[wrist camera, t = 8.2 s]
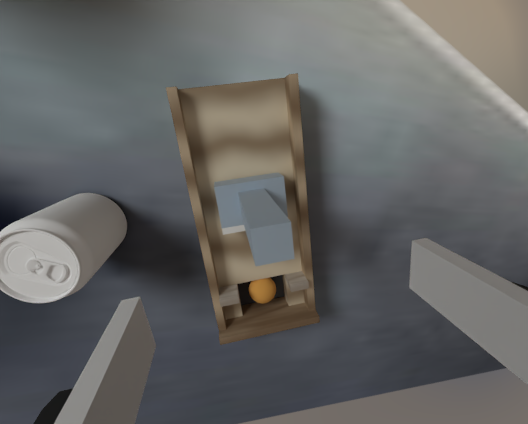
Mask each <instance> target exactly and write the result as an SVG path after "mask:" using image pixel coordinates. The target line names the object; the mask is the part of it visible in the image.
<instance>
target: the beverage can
mask: <svg viewBox="0 0 528 424" xmlns="http://www.w3.org/2000/svg"><path fill="white" fill-rule="evenodd" d="M126 232H127V221H126V218H125V215H124V213H123V211H122V210H121V209H120V207H119V206H118V205H117V204H116V203H115V202H113V201H112V200H110V199H109V198H107V197H105V196H102V195H99V194H94V193H81V194H77V195H74V196H72V197H69V198H67V199H65V200H63V201H60V202H58V203H56V204H54V205H52V206H49V207H47V208H45V209H43V210H40V211H38V212H36V213H34V214H32V215H29V216H27V217H25V218H23V219H20V220H18V221H16V222H14V223H12V224H10V225H8V226H7V227H5V228H4V229H3V230H2V231H1V232H0V290H2V291H3V292H4V293H6V294H7V295H9V296H11V297H13V298H16V299H18V300H21V301H25V302H30V303H48V302H53V301H56V300H59V299H61V298H63V297H66V296H69V295H71V294H73V293H75V292H77V291H78V290H80V289H81V288H82V287H83V286H84V285H85V284H86V283H87V282H88V281H89V280H90V278H91V277H92V276H93V275H94V274H95V273H96V271H97V270H98V269H99V268H100V267H101V266H102V265H103V263H104V262H105V261H106V260H107V259H108V258H109V256H110V255H111V254H112V253H113V252H114V251H115V249H116V248H117V247H118V246H119V245H120V244H121V242H122V241H123V239H124V238H125V235H126Z"/></svg>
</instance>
